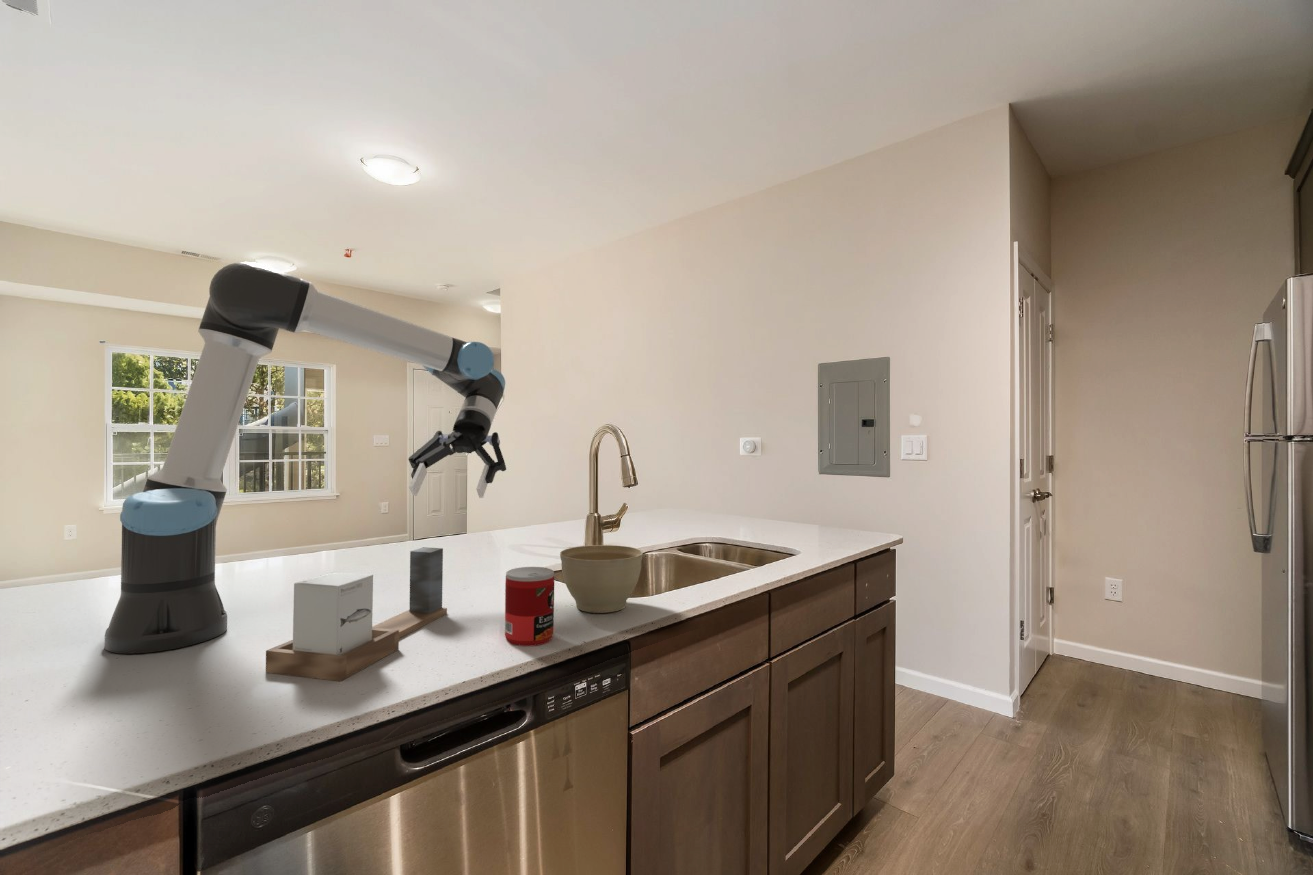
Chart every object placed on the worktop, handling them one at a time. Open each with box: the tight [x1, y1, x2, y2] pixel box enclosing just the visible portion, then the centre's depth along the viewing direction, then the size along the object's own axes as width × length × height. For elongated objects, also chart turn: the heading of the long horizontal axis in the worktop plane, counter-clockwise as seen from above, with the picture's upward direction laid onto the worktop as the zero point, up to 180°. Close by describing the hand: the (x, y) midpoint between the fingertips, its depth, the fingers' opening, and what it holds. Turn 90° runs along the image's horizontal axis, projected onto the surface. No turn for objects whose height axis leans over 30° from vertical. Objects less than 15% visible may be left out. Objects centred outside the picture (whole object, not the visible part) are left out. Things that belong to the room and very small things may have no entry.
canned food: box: [504, 566, 555, 647], centre depth 96 cm, size 8×8×11 cm
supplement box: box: [292, 571, 374, 655], centre depth 83 cm, size 7×7×13 cm
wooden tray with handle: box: [265, 547, 448, 682], centre depth 94 cm, size 12×30×12 cm, turn 168°
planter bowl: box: [559, 544, 644, 614], centre depth 114 cm, size 16×16×11 cm
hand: (446, 492), depth 117 cm, fingers open, 13 cm apart
